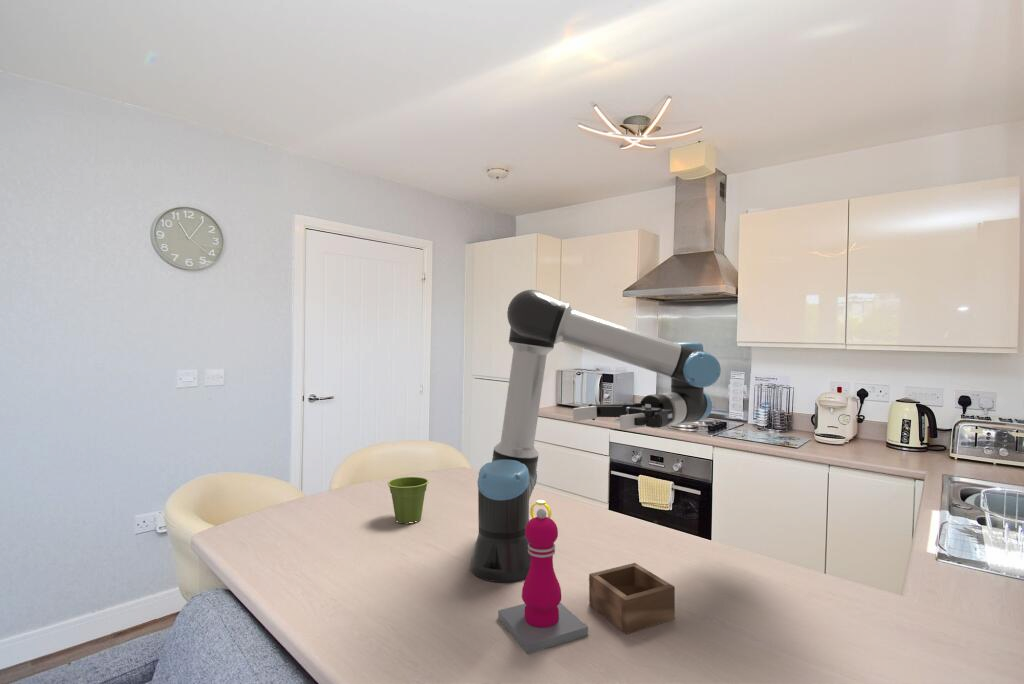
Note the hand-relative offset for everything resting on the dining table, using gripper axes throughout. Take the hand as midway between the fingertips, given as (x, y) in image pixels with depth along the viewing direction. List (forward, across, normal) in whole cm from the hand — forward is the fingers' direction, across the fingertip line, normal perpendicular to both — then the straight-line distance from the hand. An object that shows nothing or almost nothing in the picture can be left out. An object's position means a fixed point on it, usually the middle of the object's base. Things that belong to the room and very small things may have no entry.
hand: (596, 418), depth 106 cm
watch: (-16, +38, -36) cm, 55 cm away
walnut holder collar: (0, -10, -36) cm, 37 cm away
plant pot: (+14, +62, -36) cm, 73 cm away
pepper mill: (+18, -3, -35) cm, 39 cm away
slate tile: (+18, -3, -36) cm, 40 cm away
